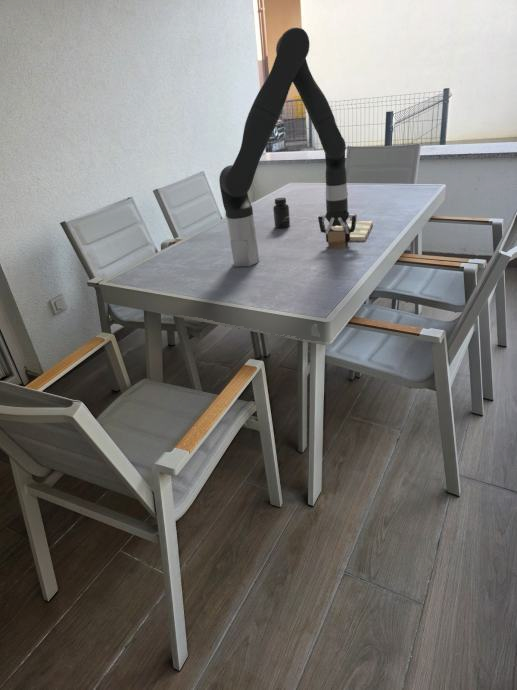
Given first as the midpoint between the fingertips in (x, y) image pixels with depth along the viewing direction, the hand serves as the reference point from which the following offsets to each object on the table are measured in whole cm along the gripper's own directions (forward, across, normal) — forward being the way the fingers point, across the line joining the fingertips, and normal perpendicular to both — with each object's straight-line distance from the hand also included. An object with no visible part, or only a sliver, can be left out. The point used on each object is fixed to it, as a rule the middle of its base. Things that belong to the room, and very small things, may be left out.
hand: (338, 242), depth 165 cm
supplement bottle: (+1, -30, +25) cm, 39 cm away
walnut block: (+1, 0, 0) cm, 1 cm away
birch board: (+1, +2, +15) cm, 15 cm away
